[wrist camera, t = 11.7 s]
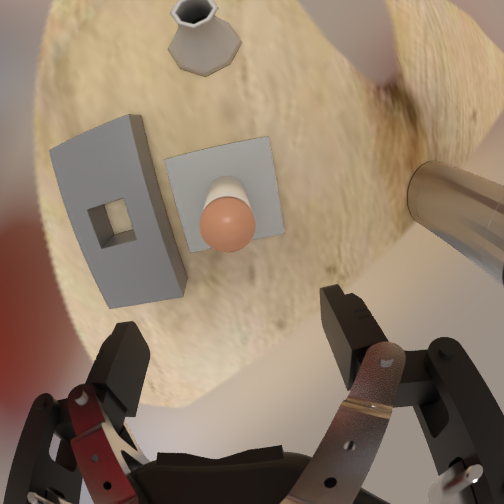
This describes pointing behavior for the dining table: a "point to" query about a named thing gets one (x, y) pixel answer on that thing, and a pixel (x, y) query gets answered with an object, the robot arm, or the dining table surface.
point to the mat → (226, 164)
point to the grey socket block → (138, 206)
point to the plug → (227, 216)
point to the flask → (202, 38)
